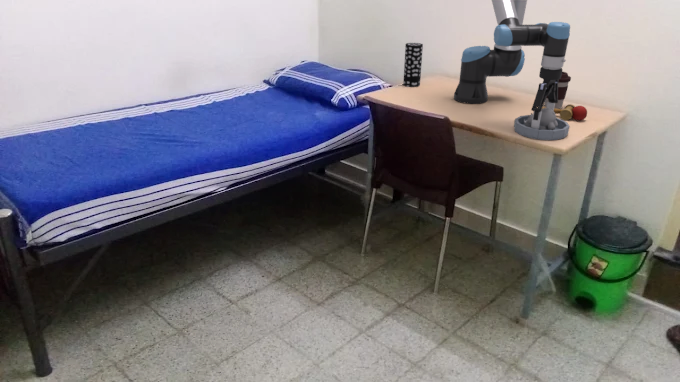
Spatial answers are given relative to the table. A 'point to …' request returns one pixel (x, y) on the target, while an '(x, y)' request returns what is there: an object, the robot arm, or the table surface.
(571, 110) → the kendama
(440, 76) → the table surface
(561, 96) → the coffee cup
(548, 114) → the round bodied animal figurine
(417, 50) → the spotted tube
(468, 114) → the table surface
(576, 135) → the table surface
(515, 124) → the round tray
